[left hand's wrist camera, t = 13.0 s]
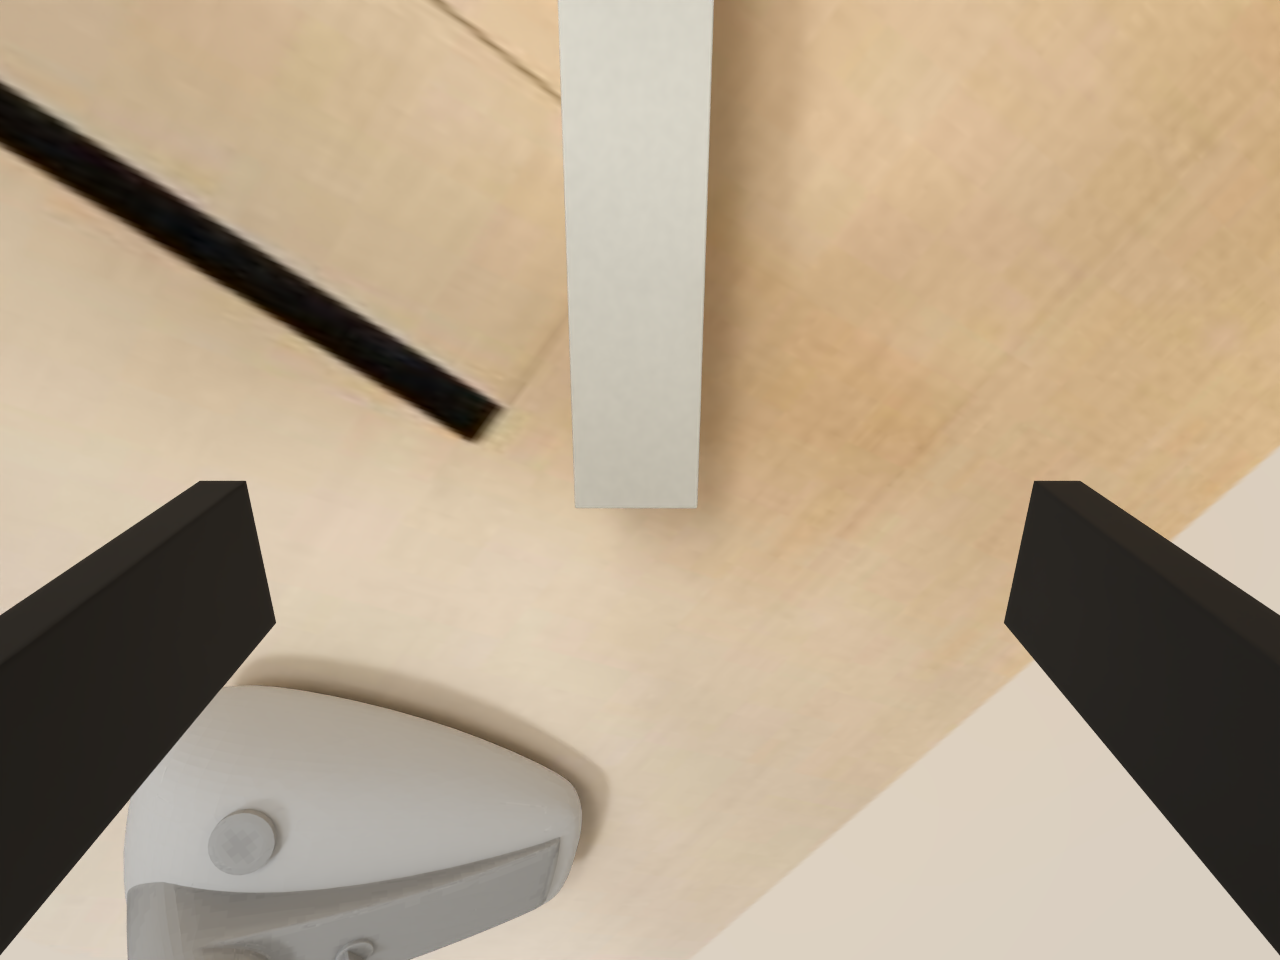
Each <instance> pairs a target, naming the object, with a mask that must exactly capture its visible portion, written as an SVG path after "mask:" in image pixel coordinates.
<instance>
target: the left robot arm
mask: <svg viewBox="0 0 1280 960" xmlns="http://www.w3.org/2000/svg"><path fill="white" fill-rule="evenodd" d="M275 624H276V620H275V616H274V611H273V606H272V602H271V597H270V592H269V588H268V583H267V578H266V573H265V569H264V564H263V559H262V555H261V550H260V545H259V540H258V536H257V531H256V526H255V522H254V517H253V512H252V508H251V503H250V498H249V493H248V489H247V484H246V481H199V482H198V483H196V484H195V485H193V486H192V487H190V488H189V489H187V490H186V491H184V492H183V493H181V494H180V495H178V496H177V497H175V498H174V499H172V500H171V501H169V502H168V503H166V504H165V505H163V506H162V507H160V508H159V509H157V510H156V511H154V512H153V513H152V514H150V515H149V516H147V517H146V518H144V519H143V520H141V521H140V522H138V523H137V524H135V525H134V526H132V527H131V528H129V529H128V530H126V531H125V532H123V533H122V534H120V535H119V536H117V537H116V538H114V539H113V540H111V541H110V542H108V543H107V544H106V545H104V546H103V547H101V548H100V549H98V550H97V551H95V552H94V553H92V554H91V555H89V556H88V557H86V558H85V559H83V560H82V561H80V562H79V563H77V564H76V565H74V566H73V567H71V568H70V569H68V570H67V571H65V572H64V573H62V574H61V575H59V576H58V577H57V578H55V579H54V580H52V581H51V582H49V583H48V584H46V585H45V586H43V587H42V588H40V589H39V590H37V591H36V592H34V593H33V594H31V595H30V596H28V597H27V598H25V599H24V600H22V601H21V602H19V603H18V604H16V605H15V606H13V607H12V608H11V609H9V610H8V611H6V612H5V613H3V614H2V615H0V955H1V954H2V952H3V951H4V950H5V949H6V948H7V946H8V945H9V944H10V943H11V941H12V940H13V939H14V938H15V937H16V936H17V934H18V933H19V932H20V931H21V929H22V928H23V927H24V926H25V925H26V923H27V922H28V921H29V920H30V919H31V917H32V916H33V915H34V914H35V913H36V911H37V910H38V909H39V908H40V907H41V905H42V904H43V903H44V902H45V901H46V899H47V898H48V897H49V896H50V895H51V893H52V892H53V891H54V890H55V889H56V887H57V886H58V885H59V884H60V883H61V881H62V880H63V879H64V878H65V876H66V875H67V874H68V873H69V872H70V870H71V869H72V868H73V867H74V866H75V864H76V863H77V862H78V861H79V860H80V858H81V857H82V856H83V855H84V854H85V852H86V851H87V850H88V849H89V848H90V846H91V845H92V844H93V843H94V842H95V840H96V839H97V838H98V837H99V836H100V834H101V833H102V832H103V831H104V830H105V828H106V827H107V826H108V825H109V823H110V822H111V821H112V820H113V819H114V817H115V816H116V815H117V814H118V813H119V811H120V810H121V809H122V808H123V807H124V805H125V804H126V803H127V802H128V801H129V799H130V798H131V797H132V796H133V795H134V793H135V792H136V791H137V790H138V789H139V787H140V786H141V785H142V784H143V783H144V781H145V780H146V779H147V778H148V777H149V775H150V774H151V773H152V772H153V770H154V769H155V768H156V767H157V766H158V764H159V763H160V762H161V761H162V760H163V758H164V757H165V756H166V755H167V754H168V752H169V751H170V750H171V749H172V748H173V746H174V745H175V744H176V743H177V742H178V740H179V739H180V738H181V737H182V736H183V734H184V733H185V732H186V731H187V730H188V728H189V727H190V726H191V725H192V724H193V722H194V721H195V720H196V719H197V717H198V716H199V715H200V714H201V713H202V711H203V710H204V709H205V708H206V707H207V705H208V704H209V703H210V702H211V701H212V699H213V698H214V697H215V696H216V695H217V693H218V692H219V691H220V690H221V689H222V687H223V686H224V685H225V684H226V683H227V681H228V680H229V679H230V678H231V677H232V675H233V674H234V673H235V672H236V671H237V669H238V668H239V667H240V666H241V664H242V663H243V662H244V661H245V660H246V658H247V657H248V656H249V655H250V654H251V652H252V651H253V650H254V649H255V648H256V646H257V645H258V644H259V643H260V642H261V640H262V639H263V638H264V637H265V636H266V634H267V633H268V632H269V631H270V630H271V628H272V627H273V626H274V625H275ZM1004 624H1005V625H1006V626H1007V627H1008V628H1009V630H1010V631H1011V632H1012V633H1013V634H1014V636H1015V637H1016V638H1017V639H1018V640H1019V642H1020V643H1021V644H1022V645H1023V646H1024V648H1025V649H1026V650H1027V651H1028V652H1029V654H1030V655H1031V656H1032V657H1033V658H1034V660H1035V661H1036V662H1037V663H1038V664H1039V666H1040V667H1041V668H1042V669H1043V671H1044V672H1045V673H1046V674H1047V675H1048V677H1049V678H1050V679H1051V680H1052V681H1053V683H1054V684H1055V685H1056V686H1057V687H1058V689H1059V690H1060V691H1061V692H1062V693H1063V695H1064V696H1065V697H1066V698H1067V699H1068V701H1069V702H1070V703H1071V704H1072V705H1073V707H1074V708H1075V709H1076V710H1077V711H1078V713H1079V714H1080V715H1081V716H1082V717H1083V719H1084V720H1085V721H1086V722H1087V723H1088V725H1089V726H1090V727H1091V728H1092V730H1093V731H1094V732H1095V733H1096V734H1097V735H1098V737H1099V738H1100V739H1101V740H1102V742H1103V743H1104V744H1105V745H1106V746H1107V748H1108V749H1109V750H1110V751H1111V752H1112V754H1113V755H1114V756H1115V757H1116V758H1117V760H1118V761H1119V762H1120V763H1121V764H1122V766H1123V767H1124V768H1125V769H1126V770H1127V772H1128V773H1129V774H1130V775H1131V776H1132V778H1133V779H1134V780H1135V781H1136V783H1137V784H1138V785H1139V786H1140V787H1141V789H1142V790H1143V791H1144V792H1145V793H1146V795H1147V796H1148V797H1149V798H1150V799H1151V801H1152V802H1153V803H1154V804H1155V805H1156V807H1157V808H1158V809H1159V810H1160V811H1161V813H1162V814H1163V815H1164V816H1165V817H1166V819H1167V820H1168V821H1169V822H1170V823H1171V825H1172V826H1173V827H1174V828H1175V830H1176V831H1177V832H1178V833H1179V834H1180V836H1181V837H1182V838H1183V839H1184V840H1185V842H1186V843H1187V844H1188V845H1189V846H1190V848H1191V849H1192V850H1193V851H1194V852H1195V854H1196V855H1197V856H1198V857H1199V858H1200V860H1201V861H1202V862H1203V863H1204V864H1205V866H1206V867H1207V868H1208V869H1209V870H1210V872H1211V873H1212V874H1213V875H1214V876H1215V878H1216V879H1217V880H1218V881H1219V882H1220V884H1221V885H1222V886H1223V887H1224V889H1225V890H1226V891H1227V892H1228V893H1229V894H1230V896H1231V897H1232V898H1233V899H1234V901H1235V902H1236V903H1237V904H1238V905H1239V907H1240V908H1241V909H1242V910H1243V911H1244V913H1245V914H1246V915H1247V916H1248V917H1249V919H1250V920H1251V921H1252V922H1253V923H1254V925H1255V926H1256V927H1257V928H1258V929H1259V931H1260V932H1261V933H1262V934H1263V935H1264V937H1265V938H1266V939H1267V940H1268V942H1269V943H1270V944H1271V945H1272V946H1273V948H1274V949H1275V950H1276V951H1277V952H1278V954H1279V955H1280V615H1278V614H1277V613H1275V612H1274V611H1272V610H1271V609H1269V608H1268V607H1266V606H1265V605H1264V604H1262V603H1261V602H1259V601H1258V600H1256V599H1255V598H1253V597H1252V596H1250V595H1249V594H1247V593H1246V592H1244V591H1243V590H1241V589H1240V588H1238V587H1237V586H1235V585H1234V584H1232V583H1231V582H1229V581H1228V580H1226V579H1225V578H1223V577H1222V576H1221V575H1219V574H1218V573H1216V572H1215V571H1213V570H1212V569H1210V568H1209V567H1207V566H1206V565H1204V564H1203V563H1201V562H1200V561H1198V560H1197V559H1195V558H1194V557H1192V556H1191V555H1189V554H1188V553H1186V552H1185V551H1183V550H1182V549H1180V548H1179V547H1177V546H1176V545H1174V544H1173V543H1172V542H1170V541H1169V540H1167V539H1166V538H1164V537H1163V536H1161V535H1160V534H1158V533H1157V532H1155V531H1154V530H1152V529H1151V528H1149V527H1148V526H1146V525H1145V524H1143V523H1142V522H1140V521H1139V520H1137V519H1136V518H1134V517H1133V516H1131V515H1130V514H1128V513H1127V512H1126V511H1124V510H1123V509H1121V508H1120V507H1118V506H1117V505H1115V504H1114V503H1112V502H1111V501H1109V500H1108V499H1106V498H1105V497H1103V496H1102V495H1100V494H1099V493H1097V492H1096V491H1094V490H1093V489H1091V488H1090V487H1088V486H1087V485H1085V484H1084V483H1082V482H1081V481H1034V484H1033V489H1032V493H1031V498H1030V503H1029V508H1028V512H1027V517H1026V522H1025V526H1024V531H1023V536H1022V540H1021V545H1020V550H1019V555H1018V559H1017V564H1016V569H1015V573H1014V578H1013V583H1012V588H1011V592H1010V597H1009V602H1008V606H1007V611H1006V616H1005V620H1004Z"/></svg>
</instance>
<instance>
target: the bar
mask: <svg viewBox="0 0 1280 960" xmlns="http://www.w3.org/2000/svg"><path fill="white" fill-rule="evenodd" d="M713 17H714V0H558V20H559V50H560V79H561V109H562V138H563V168H564V197H565V227H566V256H567V286H568V315H569V345H570V374H571V404H572V433H573V463H574V492H575V507H576V508H697V504H698V474H699V443H700V413H701V382H702V352H703V321H704V291H705V261H706V230H707V200H708V169H709V139H710V108H711V78H712V47H713Z"/></svg>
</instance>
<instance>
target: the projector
mask: <svg viewBox="0 0 1280 960" xmlns="http://www.w3.org/2000/svg"><path fill="white" fill-rule="evenodd" d="M581 826H582V809H581V803H580V799H579V796H578V794H577V792H576V790H575V788H574V787H573V785H572V784H571V783H570V782H569V781H568V780H566V779H565V778H564V777H562V776H561V775H559V774H558V773H556V772H554V771H552V770H550V769H548V768H547V767H545V766H543V765H541V764H539V763H537V762H535V761H533V760H530V759H528V758H526V757H524V756H522V755H519V754H517V753H515V752H513V751H510V750H508V749H506V748H503V747H501V746H498V745H496V744H493V743H491V742H489V741H486V740H484V739H481V738H478V737H476V736H473V735H470V734H467V733H465V732H462V731H459V730H457V729H454V728H451V727H448V726H445V725H442V724H439V723H435V722H432V721H429V720H426V719H423V718H420V717H416V716H413V715H409V714H405V713H402V712H398V711H395V710H391V709H387V708H383V707H379V706H375V705H371V704H367V703H363V702H359V701H354V700H349V699H345V698H340V697H335V696H330V695H325V694H319V693H314V692H309V691H303V690H296V689H289V688H282V687H271V686H259V685H253V686H232V687H224V688H222V689H221V690H220V691H219V692H218V693H217V695H216V696H215V697H214V698H213V699H212V701H211V702H210V703H209V704H208V705H207V707H206V708H205V709H204V710H203V711H202V713H201V714H200V715H199V716H198V717H197V719H196V720H195V721H194V722H193V724H192V725H191V726H190V727H189V728H188V730H187V731H186V732H185V733H184V734H183V736H182V737H181V738H180V739H179V740H178V742H177V743H176V744H175V745H174V746H173V748H172V749H171V750H170V751H169V752H168V754H167V755H166V756H165V757H164V758H163V760H162V761H161V762H160V763H159V764H158V766H157V767H156V768H155V769H154V770H153V772H152V773H151V774H150V775H149V777H148V778H147V779H146V780H145V781H144V783H143V784H142V785H141V786H140V787H139V789H138V790H137V791H136V792H135V793H134V795H133V796H132V797H131V799H130V804H129V810H128V817H127V824H126V834H125V844H124V885H125V897H126V903H127V949H128V960H410V959H413V958H416V957H418V956H421V955H424V954H427V953H429V952H432V951H435V950H437V949H440V948H442V947H445V946H448V945H450V944H453V943H455V942H458V941H461V940H463V939H466V938H468V937H471V936H473V935H476V934H478V933H481V932H483V931H486V930H488V929H490V928H493V927H495V926H498V925H500V924H502V923H505V922H507V921H509V920H512V919H514V918H516V917H519V916H521V915H523V914H525V913H527V912H530V911H532V910H534V909H536V908H538V907H539V906H541V905H543V904H544V903H546V902H548V901H549V900H551V899H552V898H553V897H554V896H555V895H556V894H557V893H558V892H559V891H560V889H561V888H562V886H563V884H564V883H565V881H566V879H567V877H568V874H569V872H570V869H571V867H572V864H573V861H574V857H575V854H576V850H577V846H578V842H579V838H580V833H581Z"/></svg>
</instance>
